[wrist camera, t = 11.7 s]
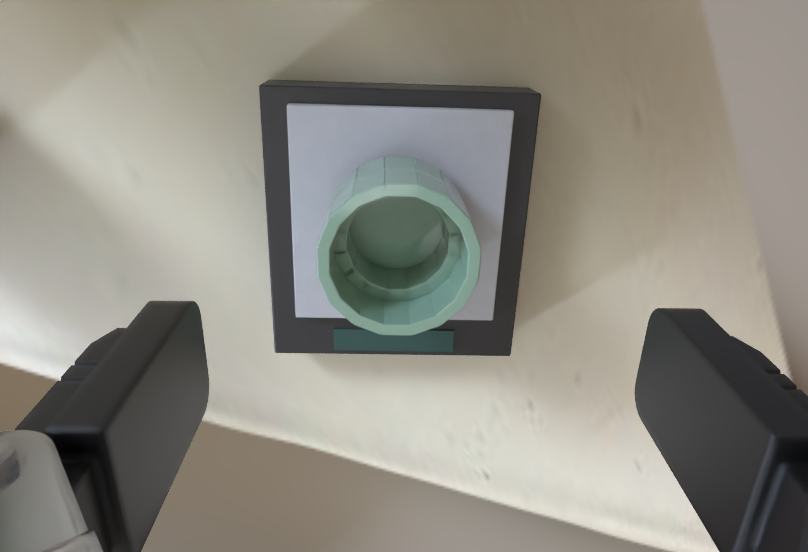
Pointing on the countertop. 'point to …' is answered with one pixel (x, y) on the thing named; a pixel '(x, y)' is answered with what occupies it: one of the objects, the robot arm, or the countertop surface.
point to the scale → (398, 137)
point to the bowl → (398, 248)
